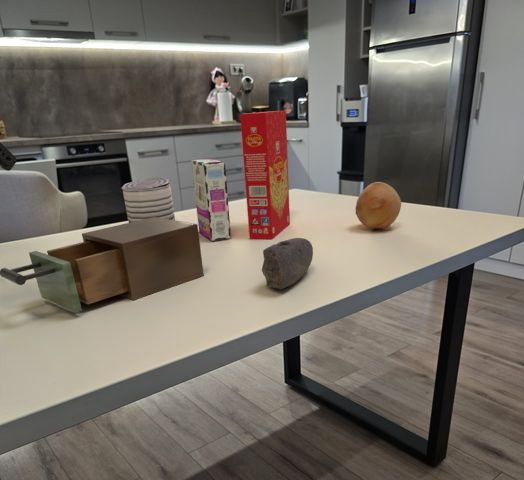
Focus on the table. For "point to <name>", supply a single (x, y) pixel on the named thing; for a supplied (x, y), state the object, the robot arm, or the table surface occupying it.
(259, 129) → the food packaging
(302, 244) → the perforated stone tool
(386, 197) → the onion
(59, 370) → the table surface
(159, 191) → the can
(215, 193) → the candy bar box
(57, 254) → the drawer
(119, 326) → the table surface
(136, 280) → the cabinet
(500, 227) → the table surface
